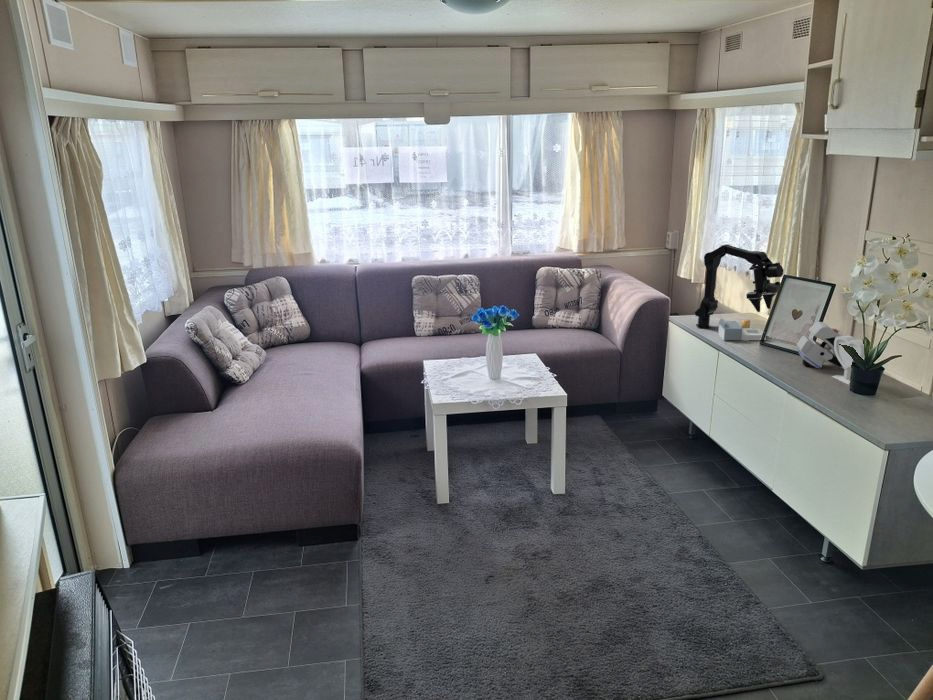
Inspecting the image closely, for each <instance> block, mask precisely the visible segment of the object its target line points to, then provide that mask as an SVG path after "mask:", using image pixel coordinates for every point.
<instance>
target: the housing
mask: <svg viewBox="0 0 933 700" xmlns="http://www.w3.org/2000/svg"><path fill="white" fill-rule="evenodd" d="M718 328H719V333H718V332H717V333H718V335H719V337H720V338H721V337H722V338H721V339H722V340H723V341H724V333H725V330H724V329H723V327H722V326H721V325H720V324H719V323H718ZM763 332H764V331H763V330H762V328H761V327H760V328H752V327H750V328H742V337H741V340H760V338H761V336H762V333H763Z"/></svg>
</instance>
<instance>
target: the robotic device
mask: <svg viewBox="0 0 933 700" xmlns="http://www.w3.org/2000/svg"><path fill="white" fill-rule="evenodd" d="M809 332H810V333H811V334H812V335H813V336H814V337H815V338H817V339H820V340H821V341H822V342H821V344H820V343H818V342H817V341H815V339H813V338H811V337H809V338H808V337H807V336H805V335H802V336H801V337H800V339H799V341H798V342H797V343H796V347H797V349H798V350H797V351H798V354H799V356H800V357H801V358H802V365H803V366H805V367H810V366H813V367H814V368H817V369H821V370H822V367H823V364H824V363H825V362H826V361H827V362H829V363H831V364H832V365H835V366H838V367H839V368H841V369H843V370H845V369H844V368H843V366H842V365H841V363H840V362H839V360H838V359H837V357H836V354H835V351H834V341H835V338H836V337H839V336H842V334H840V332H841V331H840V330H839V329H837V328H836V327H834V326H833V328H832V327H831V326H829V325H828V324H826V323H824V322H822V321H817V322H815V323H813V324H812V326H811V327H810V328H809ZM826 346H827V347H828V349H829V350H828V349H827V348H826Z"/></svg>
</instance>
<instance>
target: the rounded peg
mask: <svg viewBox="0 0 933 700" xmlns="http://www.w3.org/2000/svg"><path fill="white" fill-rule="evenodd" d="M740 327H741V328H751V320H750V319H742V320H741V326H740Z"/></svg>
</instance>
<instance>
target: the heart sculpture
mask: <svg viewBox="0 0 933 700" xmlns="http://www.w3.org/2000/svg"><path fill="white" fill-rule="evenodd" d="M839 344H841V345H847V346H850V347H853V348H854V349H855V350H856V352H857V353H858V355H859V356H860V357H861V358H862V359H863V358H864V357H865V356H864V344H863V340H862V339H856V338H855V337H854V336H852V335H841V336H839V337H836V338H835V341H834V351H835V354H836V357H837V359H838V360H839V362H840V363H841V365H842V366H843V368H844V369H845V370H844V369H843V370H844V371H843V374H835V375H834V376H833V375H831V377H832V378H834V379H836V380H839V382H842V383H843V384H846V385H848V386H850V385H849V383H850V379H851V374H852V368H851V365H852V361H853V359H852V357H851V356H850V355H849V354H848V353H847V352H846V351H845V350H844V348H843V347H842V346H841V345H839Z"/></svg>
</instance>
